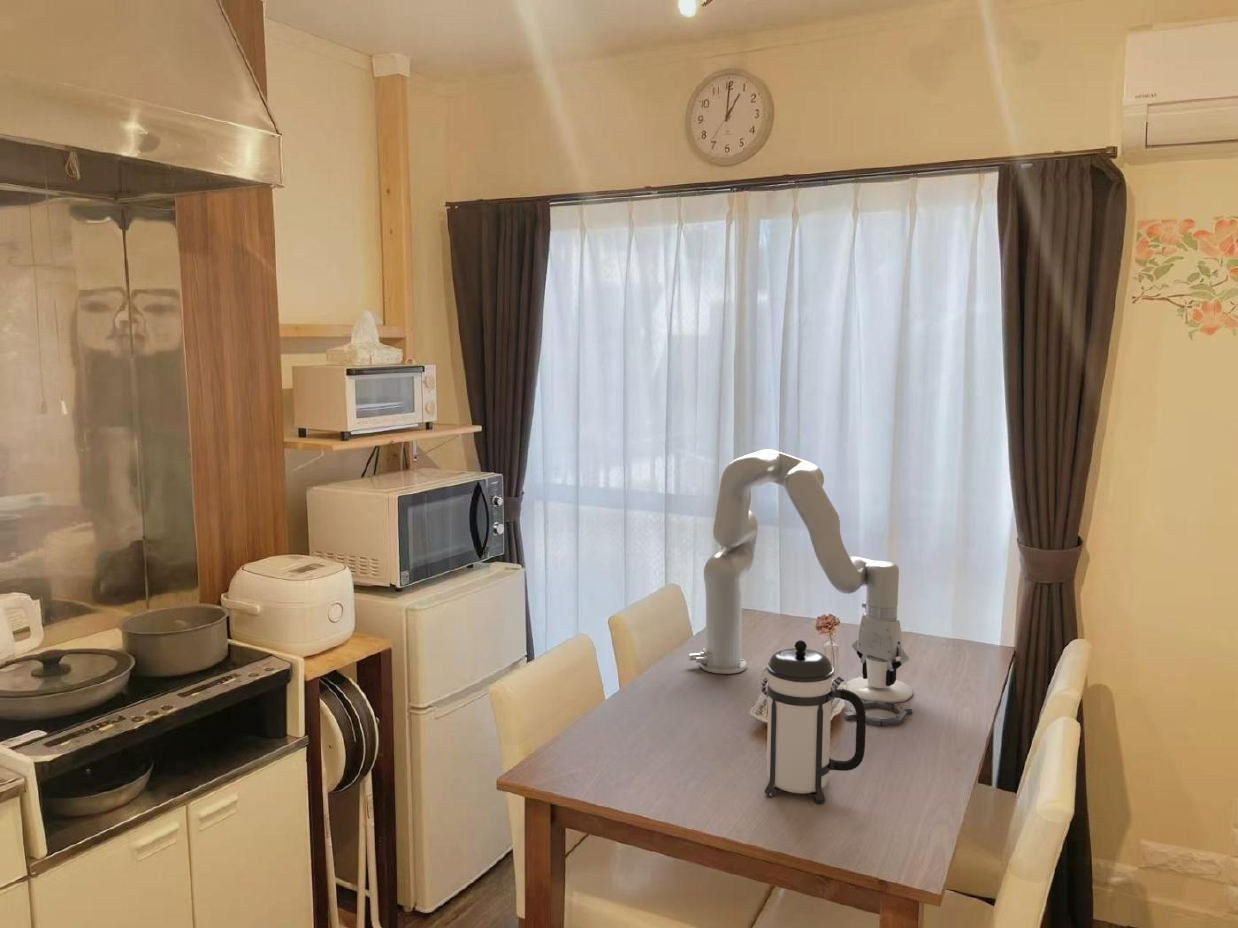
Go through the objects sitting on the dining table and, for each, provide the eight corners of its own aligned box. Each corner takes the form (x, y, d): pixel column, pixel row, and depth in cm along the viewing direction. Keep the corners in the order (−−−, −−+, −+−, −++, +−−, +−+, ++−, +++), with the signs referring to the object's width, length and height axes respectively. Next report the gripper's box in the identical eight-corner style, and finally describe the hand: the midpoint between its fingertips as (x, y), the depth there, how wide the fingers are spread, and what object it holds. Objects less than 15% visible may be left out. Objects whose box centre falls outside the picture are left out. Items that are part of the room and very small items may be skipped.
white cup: (895, 689, 230) (896, 661, 229) (867, 688, 231) (867, 660, 230) (891, 679, 237) (892, 652, 236) (863, 678, 238) (864, 651, 237)
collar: (858, 728, 211) (858, 723, 211) (833, 708, 223) (834, 704, 223) (923, 721, 215) (924, 716, 215) (896, 702, 227) (896, 697, 226)
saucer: (865, 705, 225) (865, 702, 224) (835, 682, 240) (835, 679, 240) (925, 699, 228) (925, 696, 228) (891, 676, 244) (891, 673, 244)
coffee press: (789, 815, 173) (793, 659, 169) (744, 778, 187) (747, 634, 183) (865, 797, 180) (871, 646, 176) (816, 763, 194) (820, 623, 190)
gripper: (843, 607, 235) (840, 675, 238) (905, 622, 223) (902, 694, 225) (859, 601, 240) (857, 668, 243) (921, 615, 228) (917, 686, 230)
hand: (878, 680), depth 234 cm, fingers closed on white cup, 5 cm apart
